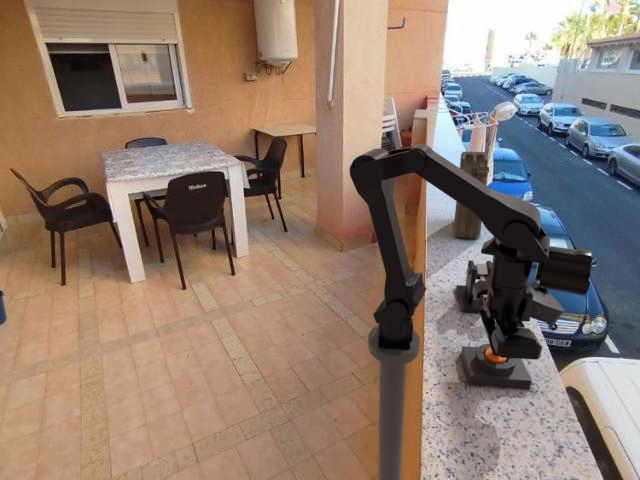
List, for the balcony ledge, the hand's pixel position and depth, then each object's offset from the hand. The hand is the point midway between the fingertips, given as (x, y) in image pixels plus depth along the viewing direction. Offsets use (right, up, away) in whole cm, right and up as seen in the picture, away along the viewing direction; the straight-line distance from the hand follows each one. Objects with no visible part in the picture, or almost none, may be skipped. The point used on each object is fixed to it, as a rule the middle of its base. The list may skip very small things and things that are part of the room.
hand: (495, 353), depth 67 cm
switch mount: (+6, +6, +22) cm, 23 cm away
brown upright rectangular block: (+18, +24, +60) cm, 68 cm away
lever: (+5, +8, +17) cm, 19 cm away
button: (0, -2, +1) cm, 2 cm away
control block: (0, -3, +2) cm, 4 cm away
